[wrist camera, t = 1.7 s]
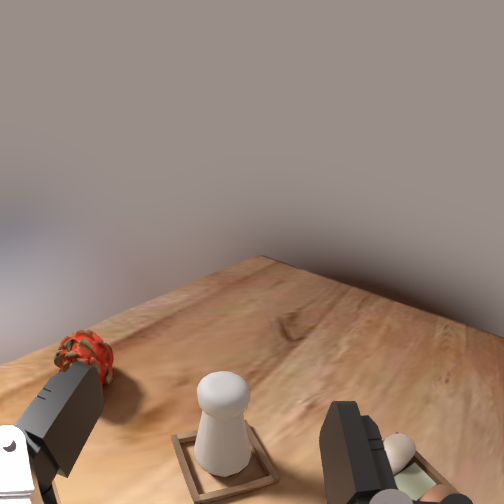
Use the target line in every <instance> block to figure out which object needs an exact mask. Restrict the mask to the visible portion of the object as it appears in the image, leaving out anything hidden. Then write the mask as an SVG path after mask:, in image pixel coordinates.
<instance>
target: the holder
mask: <svg viewBox="0 0 504 504" xmlns="http://www.w3.org/2000/svg"><path fill="white" fill-rule="evenodd" d="M244 421H245V426H246V431H247V436H248V440H249V444H250V446H251V447H252V449H253V451H254V453H255V454H256V456H257V458H258V460H259V462H260V463H261V465H262V467H263V469H264V470H265V472H266V474H267V475H268V476H266V477H263V478H260V479H257V480H254V481H250V482H247V483H244V484H240V485H237V486H233V487H229V488H225V489H221V490H217V491H213V492H209V493H204V494H200V495H199V494H198V491H197V489H196V486H195V484H194V481H193V479H192V476H191V473H190V471H189V468H188V465H187V462H186V460H185V457H184V454H183V451H182V448H181V445H180V443H185V442H190V441H195V440H196V438H197V433H198V430H197V431H192V432H187V433H181V434H176V435H171V439H172V442H173V446H174V449H175V452H176V455H177V458H178V461H179V464H180V467H181V469H182V472H183V475H184V478H185V481H186V483H187V486H188V489H189V491H190V494H191V497H192V499H193V502H194V504H202V503H207V502H211V501H215V500H219V499H223V498H227V497H231V496H235V495H238V494H242V493H245V492H248V491H252V490H255V489H258V488H261V487H264V486H267V485H270V484H273V483H276V482H279V479H280V477H279V475H278V474H277V472H276V471H275V469H274V467H273V466H272V464H271V462H270V461H269V459H268V457H267V456H266V454H265V452H264V451H263V449H262V447H261V445H260V444H259V442H258V440H257V439H256V437H255V435H254V433H253V432H252V430H251V428H250V426H249V424H248V423H247V421H246V420H244Z"/></svg>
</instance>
